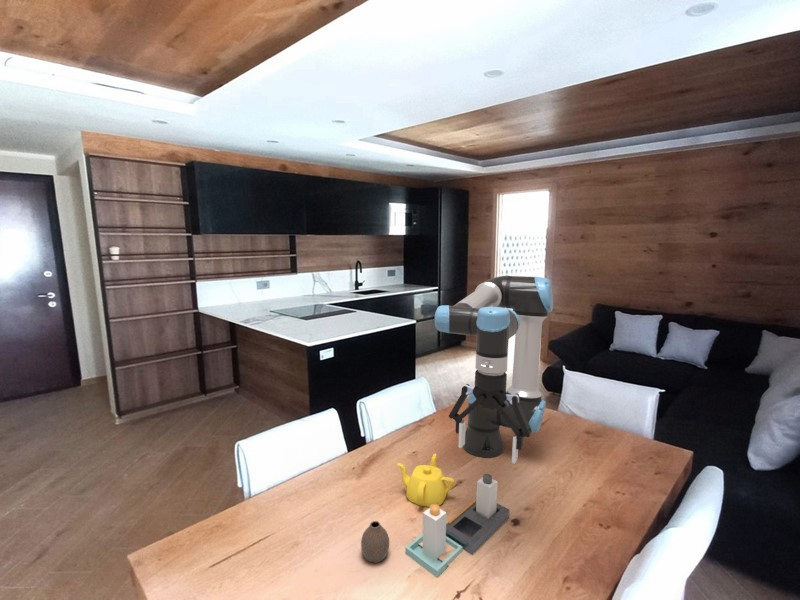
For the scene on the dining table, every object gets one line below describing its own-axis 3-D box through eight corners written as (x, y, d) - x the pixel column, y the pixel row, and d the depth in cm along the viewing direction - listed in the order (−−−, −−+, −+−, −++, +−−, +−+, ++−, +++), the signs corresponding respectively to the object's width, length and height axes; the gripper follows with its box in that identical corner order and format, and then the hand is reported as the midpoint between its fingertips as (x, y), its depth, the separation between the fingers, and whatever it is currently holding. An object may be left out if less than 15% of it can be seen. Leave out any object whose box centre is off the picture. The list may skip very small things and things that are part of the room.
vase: (361, 546, 99) (361, 515, 98) (388, 544, 100) (388, 513, 99) (361, 568, 92) (360, 535, 91) (390, 566, 93) (390, 533, 92)
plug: (422, 553, 97) (423, 507, 95) (432, 544, 100) (433, 499, 98) (435, 562, 94) (436, 515, 92) (445, 552, 97) (446, 506, 95)
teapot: (435, 479, 127) (435, 451, 125) (457, 505, 115) (458, 474, 113) (396, 490, 121) (396, 461, 120) (415, 518, 109) (416, 486, 108)
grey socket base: (442, 539, 102) (443, 525, 101) (480, 505, 115) (481, 493, 114) (472, 558, 96) (472, 544, 95) (508, 521, 108) (509, 508, 108)
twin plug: (475, 518, 108) (477, 476, 106) (483, 510, 111) (485, 470, 109) (488, 525, 105) (490, 482, 103) (496, 517, 108) (497, 476, 106)
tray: (405, 554, 97) (405, 547, 96) (431, 533, 104) (431, 526, 103) (437, 578, 90) (437, 571, 89) (462, 554, 97) (462, 546, 97)
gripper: (437, 366, 98) (435, 446, 101) (541, 385, 85) (535, 475, 88) (449, 359, 104) (447, 434, 107) (547, 375, 92) (542, 460, 95)
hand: (487, 453), depth 98 cm, fingers open, 13 cm apart
